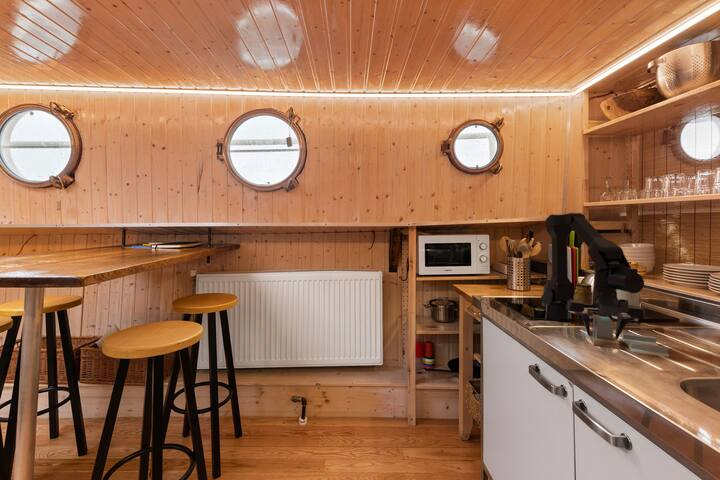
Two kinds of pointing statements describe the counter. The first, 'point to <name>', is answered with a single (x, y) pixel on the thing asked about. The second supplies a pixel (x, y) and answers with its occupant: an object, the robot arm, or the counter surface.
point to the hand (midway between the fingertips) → (602, 336)
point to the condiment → (584, 295)
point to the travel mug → (629, 298)
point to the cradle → (644, 344)
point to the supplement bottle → (545, 290)
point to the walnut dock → (603, 342)
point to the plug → (603, 328)
